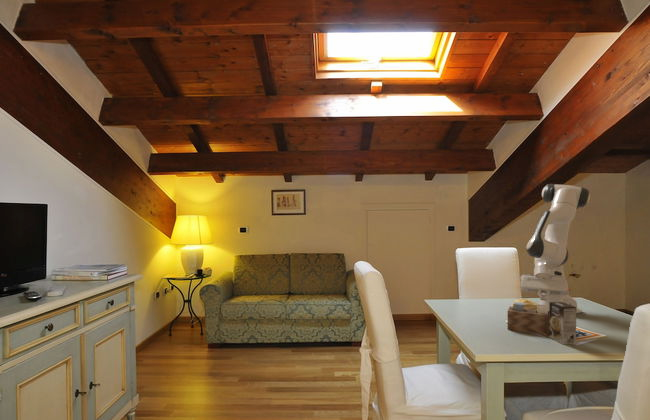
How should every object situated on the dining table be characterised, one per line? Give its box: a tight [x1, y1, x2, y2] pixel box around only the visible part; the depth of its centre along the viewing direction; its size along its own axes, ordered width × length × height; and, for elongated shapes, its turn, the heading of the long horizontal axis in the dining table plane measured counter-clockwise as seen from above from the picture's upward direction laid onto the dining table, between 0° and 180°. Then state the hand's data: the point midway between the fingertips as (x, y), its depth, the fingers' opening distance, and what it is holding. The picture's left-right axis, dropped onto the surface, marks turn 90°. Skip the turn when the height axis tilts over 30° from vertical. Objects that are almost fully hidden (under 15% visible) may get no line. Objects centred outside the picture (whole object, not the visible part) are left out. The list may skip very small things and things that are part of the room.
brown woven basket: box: [507, 305, 550, 336], centre depth 188 cm, size 19×10×9 cm, turn 59°
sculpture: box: [511, 298, 538, 309], centre depth 206 cm, size 11×12×11 cm
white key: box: [536, 303, 548, 314], centre depth 186 cm, size 4×4×4 cm
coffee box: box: [549, 302, 577, 345], centre depth 172 cm, size 9×6×16 cm
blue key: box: [512, 301, 524, 312], centre depth 191 cm, size 4×4×4 cm
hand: (543, 299), depth 185 cm, fingers closed
